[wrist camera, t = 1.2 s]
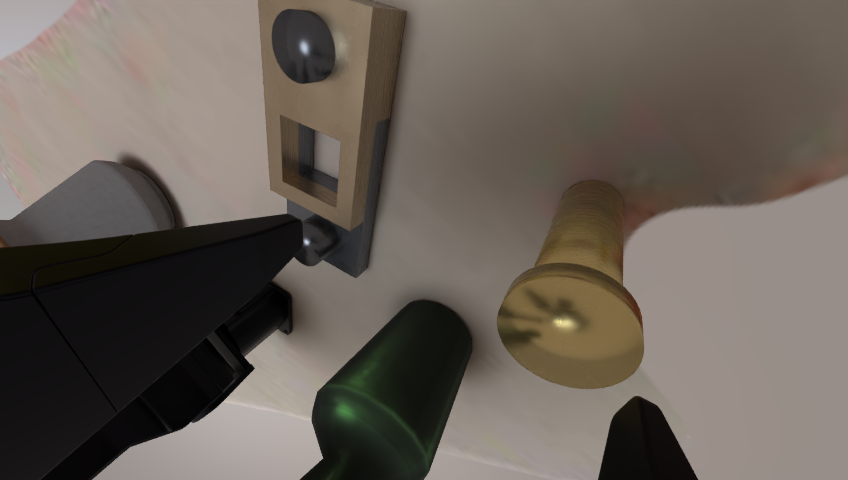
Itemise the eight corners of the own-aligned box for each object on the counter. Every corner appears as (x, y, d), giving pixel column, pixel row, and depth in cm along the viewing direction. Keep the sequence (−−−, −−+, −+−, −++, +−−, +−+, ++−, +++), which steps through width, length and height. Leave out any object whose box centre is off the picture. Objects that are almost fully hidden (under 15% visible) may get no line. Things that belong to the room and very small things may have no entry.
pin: (608, 253, 18) (596, 408, 11) (537, 223, 19) (480, 344, 12) (653, 189, 16) (679, 329, 8) (570, 158, 17) (525, 257, 9)
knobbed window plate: (366, 268, 28) (335, 296, 25) (301, 232, 30) (264, 254, 27) (406, 11, 17) (359, 5, 14) (300, -21, 19) (238, -32, 16)
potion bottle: (415, 270, 26) (171, 543, 12) (504, 338, 25) (351, 720, 11) (380, 325, 31) (182, 558, 17) (453, 383, 30) (305, 680, 16)
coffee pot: (133, 136, 35) (-103, 184, 24) (200, 232, 38) (18, 316, 27) (92, 196, 48) (-76, 246, 36) (145, 265, 51) (5, 331, 39)
